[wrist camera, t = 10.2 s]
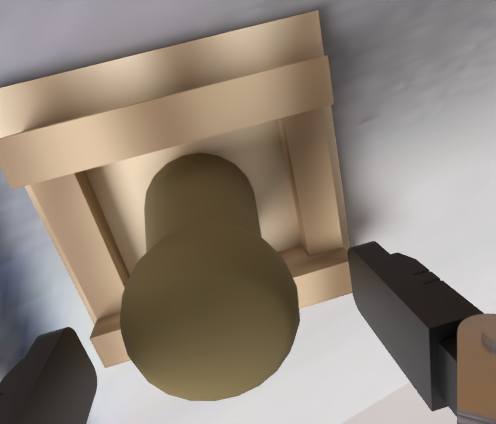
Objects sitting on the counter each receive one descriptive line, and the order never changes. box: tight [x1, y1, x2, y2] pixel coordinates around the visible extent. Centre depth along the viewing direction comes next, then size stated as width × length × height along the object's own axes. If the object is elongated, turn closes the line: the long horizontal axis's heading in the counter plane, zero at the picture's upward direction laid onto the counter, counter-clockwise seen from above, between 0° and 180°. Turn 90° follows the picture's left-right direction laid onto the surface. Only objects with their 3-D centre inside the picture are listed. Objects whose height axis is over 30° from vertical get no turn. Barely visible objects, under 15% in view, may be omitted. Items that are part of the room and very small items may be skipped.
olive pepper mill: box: [120, 153, 300, 401], centre depth 14 cm, size 6×6×11 cm
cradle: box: [0, 10, 353, 368], centre depth 18 cm, size 16×16×4 cm
